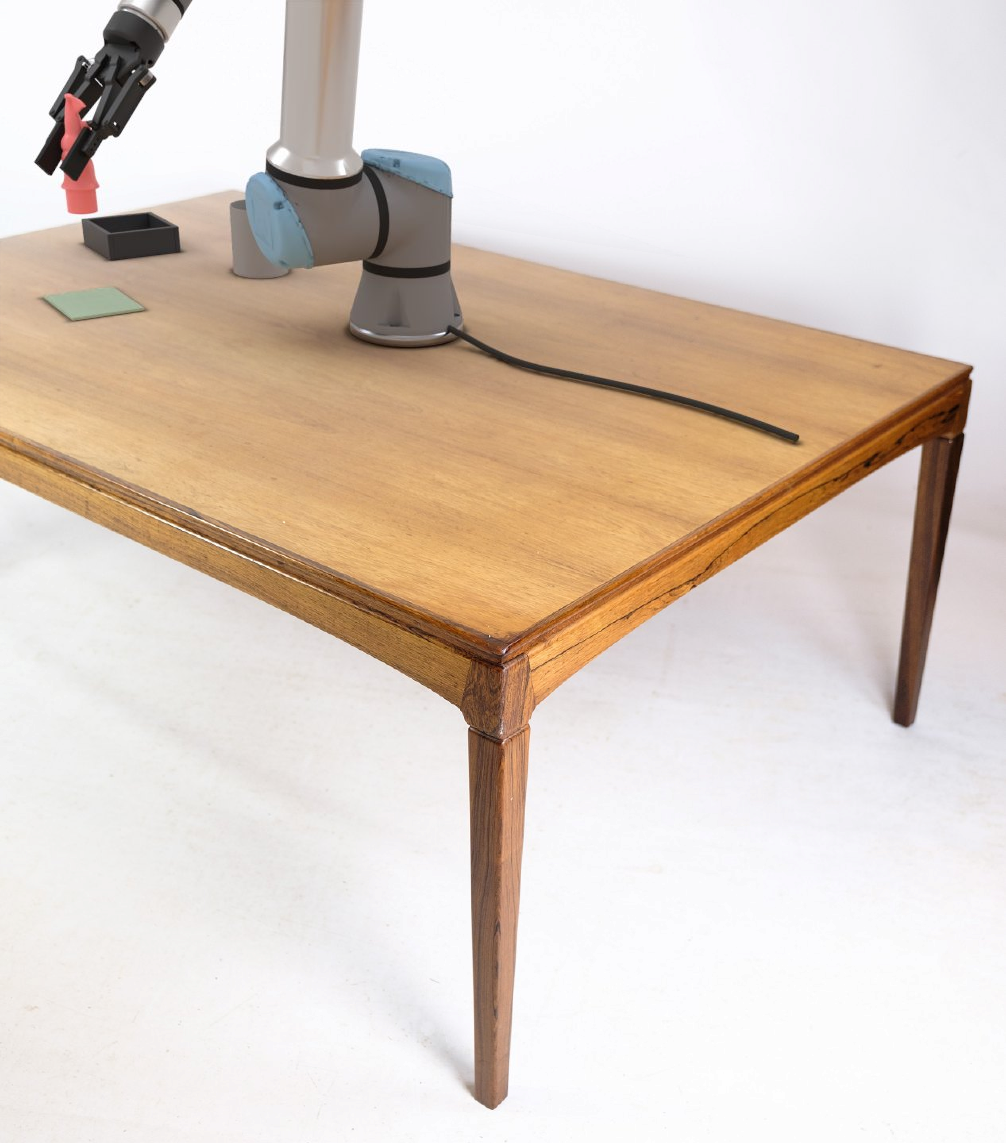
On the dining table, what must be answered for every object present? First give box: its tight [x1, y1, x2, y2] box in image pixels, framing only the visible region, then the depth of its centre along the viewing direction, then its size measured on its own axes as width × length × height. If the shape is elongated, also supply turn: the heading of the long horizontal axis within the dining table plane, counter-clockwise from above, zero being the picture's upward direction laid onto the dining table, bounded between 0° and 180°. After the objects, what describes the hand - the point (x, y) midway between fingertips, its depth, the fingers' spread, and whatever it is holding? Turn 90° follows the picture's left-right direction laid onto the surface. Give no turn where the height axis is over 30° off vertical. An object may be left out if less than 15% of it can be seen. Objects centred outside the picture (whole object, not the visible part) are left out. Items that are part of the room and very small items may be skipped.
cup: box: [229, 198, 290, 279], centre depth 196 cm, size 8×8×10 cm
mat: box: [42, 286, 145, 322], centre depth 180 cm, size 12×10×1 cm
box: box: [81, 211, 181, 261], centre depth 206 cm, size 12×12×4 cm
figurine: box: [60, 94, 100, 215], centre depth 171 cm, size 5×5×15 cm
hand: (55, 171), depth 169 cm, fingers closed on figurine, 4 cm apart
